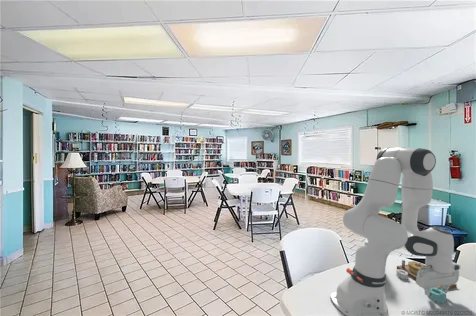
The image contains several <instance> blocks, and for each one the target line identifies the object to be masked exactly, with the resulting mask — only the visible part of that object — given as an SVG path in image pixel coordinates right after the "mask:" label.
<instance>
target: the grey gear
mask: <svg viewBox="0 0 476 316" xmlns="http://www.w3.org/2000/svg"><path fill="white" fill-rule="evenodd" d="M395 275H396V277H397V278H400V279H402V280H407V279H409V276H408V273H407V272H406V271H404V270H400V269H396V274H395Z"/></svg>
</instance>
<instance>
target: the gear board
mask: <svg viewBox="0 0 476 316" xmlns="http://www.w3.org/2000/svg"><path fill="white" fill-rule="evenodd" d="M407 262H408V263H407V264H406V260H405V259H401V265H396V270H398V269H400V270H404V271H406V272H407V273H408V277H410V278H412V279H413V280H415V281H416V277H417V273H418V270H419V269H420V268H422V266H426V265H425V263H424V264H423V263H422V262H419V261H415V260H410V261H407ZM457 286H458V285H457V283H454V284H450V287H449V288H448V290H450V289H454V288H457ZM441 287H442V286H438V287H434V288H438V289H440V290H441Z"/></svg>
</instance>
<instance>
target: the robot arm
mask: <svg viewBox="0 0 476 316" xmlns="http://www.w3.org/2000/svg"><path fill="white" fill-rule="evenodd" d="M436 164H437V159H436V156H435V154H434V152H433V151H432V150H429V149H426V148H415V147H387V148H383V149H381V150H380V151H379V152H378V153H377V156H376V159H375V162H374V164H373V165H372V168H371V171H370V172H369V177H368V180H367V184H366V188H365V191H364V193H363V196H362V198H360V199H361V200H360V201H359V202H358V203H357V204H356V205H355V206H354V207H353V206H352V208H349V209H347V210H346V211H345V212H344V214H343V217H342V222H343V225H344V227H345V228H346V229H348V230H349V231H351V232H352V233H354V234H355V235H357V236H360V237H362V238H365V239H367V240H368V244H367V245H366V246H365V245H362V246H359V247H358V248H357V249H356V251H355V261H354V266H353V268H352V269H351V268H350V267H348V268H346V269H345V270H346V273H347V274H348V275H349V276H348V277H347V278H346V279H344V280H343V281H342V282H341V283H339V284H338V285H337V288H336V291H334V292H332V293H330V295H329V297H330V300H331V302H332V304H333V305H334V307H336V308H337V309H338V310H339V311H340V312H341V313H342V314H343V315H345V316H389V315H388V306H387V297H386V289H385V286H386V282H387V275H386V265H387V260H388V256H389V255H390V254H391V253H392V252H393V251H395V250H399V249H401V248H403V247H404V248H405V250H406V251H408V253H410V254H411V255H413V256H417V257H425V260H424V265H426V266H422V268H420V269H419V270H418V273H417V277H416V280H415V283H416V285H417V286H419V287H420V288H422V289H423V290H424V294H425V296H427V297H428V296H431V292H430V291H429V290H430V288H432V287H438V286H442V287H441V290H442V291H443V292H445V294H447V293H448V290H449V289H448V288H449V287H450V284H454V283H455V284H457V283H458V281H459V278H460V270H461V264H458V263H456V262H454V261H453V255H454V251H455V248H454V247H455V241H454V236H453V234H452V233H450V232H449V231H448V230H446V229H444V228H441V227H438V226H430V227H429V228H427V229H424V230H419V227H418V220H419V218H418V217H419V210H420V208H422V207H425V206H428V205H429V204H430V203H431V201H432V198H433V190H434V188H433V187H434V183H433V175H432V171H433V170H434V169H435V167H436ZM401 175H402V176H401ZM400 181H401V189H400V190H401V201H402V205H401V206H402V207H401V217H400V223H399V222H397V221H395V220H393V219H391V218H387V217H385V216H382V215H379V213H380V212H381V211H382V210H383V209H384V208H389V207H392V206H393V205H394V204H395V203H396V198H397V195H398V191H399V188H400V187H399V186H400Z"/></svg>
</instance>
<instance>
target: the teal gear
mask: <svg viewBox="0 0 476 316" xmlns="http://www.w3.org/2000/svg"><path fill="white" fill-rule="evenodd" d="M429 291H430V292H431V296H427V297H428V298H429V299H431V300H432V301H434V302H437V303H439V304H440V303H446V302H447V293H445V292H443V291H442V290H440V289H438V288H434V287H432V288H430V290H429Z"/></svg>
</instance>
